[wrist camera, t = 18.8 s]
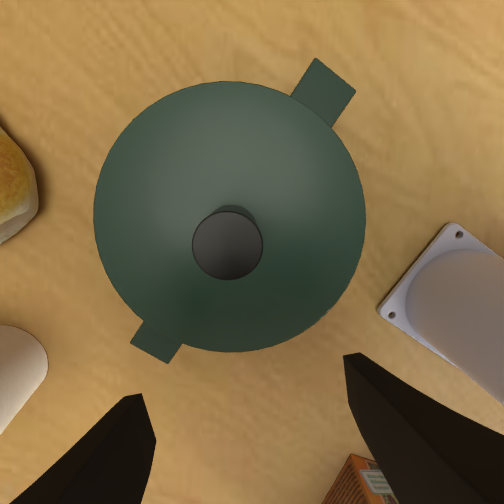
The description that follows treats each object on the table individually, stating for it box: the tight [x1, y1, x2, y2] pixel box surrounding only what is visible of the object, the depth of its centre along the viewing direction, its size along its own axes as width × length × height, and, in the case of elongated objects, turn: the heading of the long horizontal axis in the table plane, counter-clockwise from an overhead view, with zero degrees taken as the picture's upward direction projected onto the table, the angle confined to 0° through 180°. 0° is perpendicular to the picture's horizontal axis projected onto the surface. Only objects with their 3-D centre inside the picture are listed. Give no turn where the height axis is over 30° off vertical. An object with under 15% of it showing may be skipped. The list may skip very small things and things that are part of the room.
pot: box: [130, 58, 356, 364], centre depth 16 cm, size 11×17×6 cm
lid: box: [93, 81, 366, 352], centre depth 12 cm, size 12×12×5 cm
